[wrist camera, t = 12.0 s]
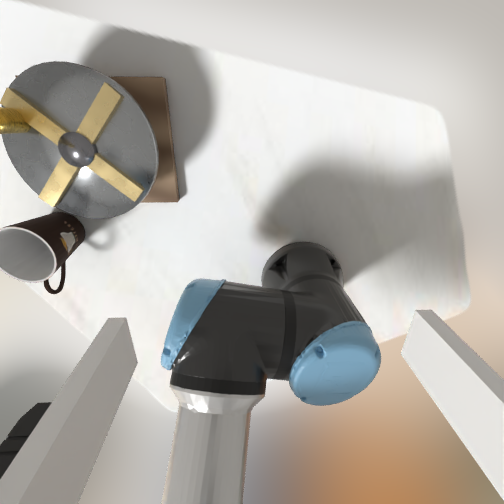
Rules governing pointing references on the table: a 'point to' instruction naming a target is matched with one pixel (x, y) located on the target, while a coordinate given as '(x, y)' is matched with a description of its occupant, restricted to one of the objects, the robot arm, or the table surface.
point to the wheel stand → (156, 132)
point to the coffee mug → (40, 247)
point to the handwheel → (79, 139)
